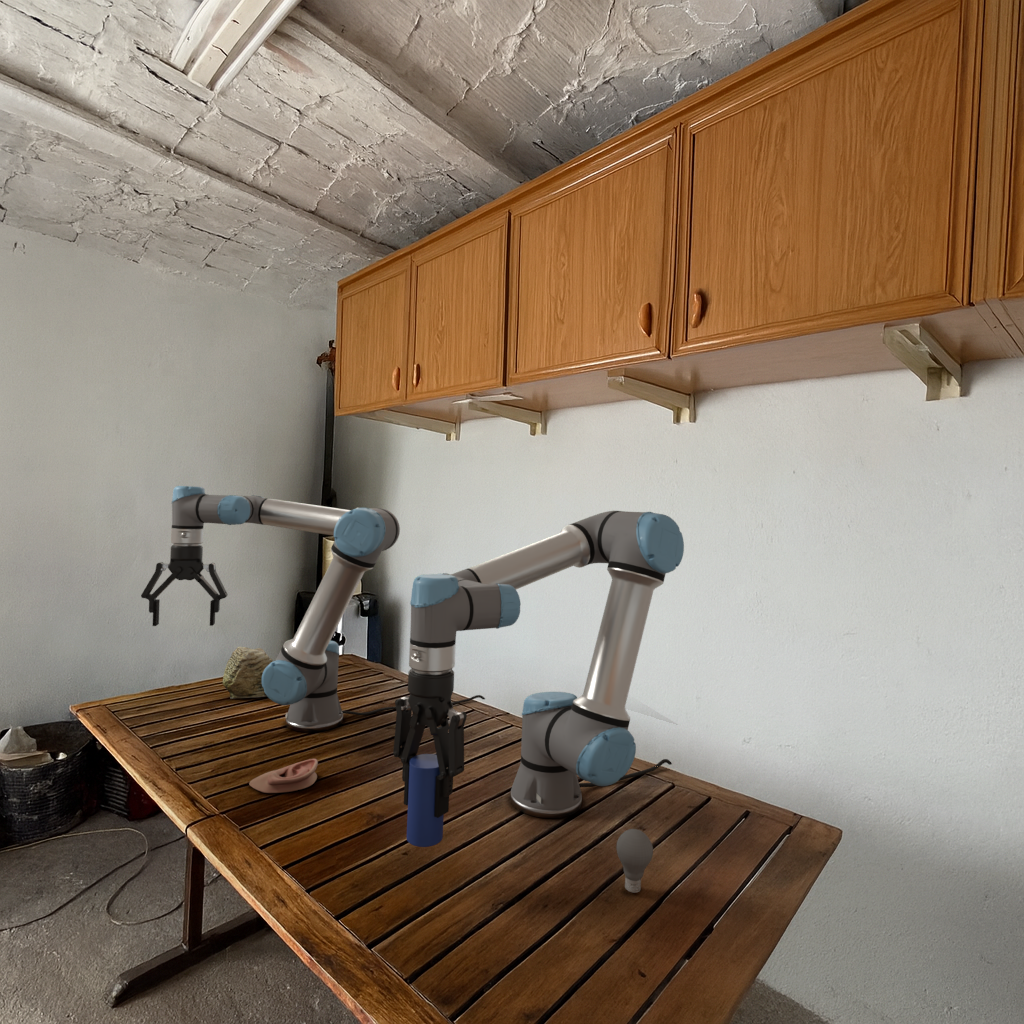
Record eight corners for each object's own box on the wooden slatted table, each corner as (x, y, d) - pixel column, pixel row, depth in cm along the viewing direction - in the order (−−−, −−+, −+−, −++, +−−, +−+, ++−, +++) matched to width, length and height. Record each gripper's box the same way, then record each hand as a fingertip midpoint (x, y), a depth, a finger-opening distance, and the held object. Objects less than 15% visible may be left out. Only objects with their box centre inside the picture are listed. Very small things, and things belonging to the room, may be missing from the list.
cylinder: (400, 843, 103) (403, 765, 103) (415, 825, 108) (418, 751, 108) (434, 850, 101) (437, 770, 101) (448, 831, 107) (451, 756, 107)
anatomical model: (241, 770, 135) (272, 750, 146) (240, 789, 135) (271, 767, 146) (297, 779, 132) (324, 757, 144) (297, 798, 132) (324, 775, 144)
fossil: (218, 695, 195) (220, 647, 195) (278, 685, 208) (279, 640, 207) (228, 703, 189) (230, 653, 188) (289, 692, 201) (290, 645, 201)
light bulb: (610, 879, 108) (613, 822, 108) (644, 879, 109) (647, 822, 109) (619, 902, 102) (622, 840, 102) (655, 901, 103) (658, 840, 103)
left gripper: (129, 544, 160) (126, 628, 160) (235, 546, 166) (232, 627, 167) (138, 542, 167) (136, 622, 167) (240, 544, 173) (237, 621, 174)
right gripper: (373, 662, 106) (368, 799, 107) (463, 685, 96) (456, 836, 96) (404, 654, 113) (399, 783, 113) (491, 674, 102) (485, 816, 103)
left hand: (184, 625), depth 167 cm, fingers open, 13 cm apart
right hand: (425, 807), depth 105 cm, fingers closed on cylinder, 6 cm apart
